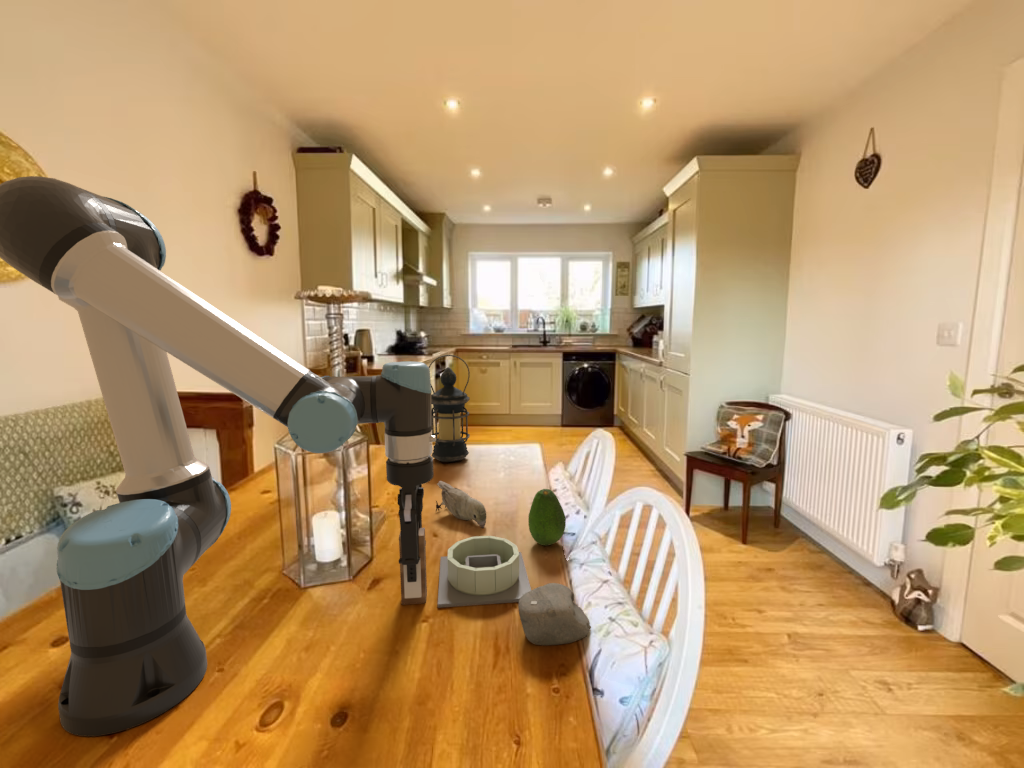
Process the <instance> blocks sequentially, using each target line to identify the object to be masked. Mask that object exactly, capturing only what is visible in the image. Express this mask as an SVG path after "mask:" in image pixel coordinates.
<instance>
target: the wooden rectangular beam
mask: <svg viewBox="0 0 1024 768" xmlns="http://www.w3.org/2000/svg"><path fill="white" fill-rule="evenodd" d="M425 540H426V528H425V527H422V528H419V557H420V561H421V593H422V595H421V597H420V598H405V594H404V566H403V565H402V563H400V564H399V573H400V574H399V576H400V599H401V603H400V604H401V605H405V606H406V605H417V604H418V605H419V604H420V605H421V604H426V603H427V594H428V589H427V588H428V587H427V586H428V585H427V584H428V583H427V556H426V555H427V554H426V553H427V552H426V546H425ZM398 544H399V545H398V547H399V548H398V549H399V558H402V551H401V531H400V530H399V535H398Z"/></svg>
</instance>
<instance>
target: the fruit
mask: <svg viewBox="0 0 1024 768" xmlns="http://www.w3.org/2000/svg"><path fill="white" fill-rule="evenodd" d="M530 505H531V506H530V508H529V512H528V530H529V533H530V535H531V538H532V539H534V541H535V543H537V544H539V545H541V546H551V545H554V544H556V543H558V542H559V541H560V540H561V539H562V537H563V535H564V533H565V531H566V525H567V523H566V515H565V512H564V509H563V507H562V504H561V503H560V500H559V498H558V496H557V494H556V493H555V492H554V491H552V489H549V488H543V489H540V490H537V492H536V493H535V495H534V497H533V500H532V502H531V504H530Z"/></svg>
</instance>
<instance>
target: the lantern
mask: <svg viewBox="0 0 1024 768" xmlns="http://www.w3.org/2000/svg"><path fill="white" fill-rule="evenodd" d="M445 357H453V358H454V357H455V358H457V359H459V360H460V361H462V362H463V364H465V366H466V369H467V372H468V373H467V374H468V376H467V382H466V383H465V386H464V389H463V390H461V389H459V388H457V387H454V385H456V383H457V373H455V372H454V371H453V370H452V368H451V367H450V366H449V367H446V368H445V369H444V371H442V373H441V374H440V382H441V384H442V386H443V387H441V388H440V389H438V390H436V391H435V390H434V388H433V386H432V384H431V392H432V393H431V396H432V434H431V436H435V437H436V441H435V443H434V445H433V449H432V454H431V455H430V456H431V457H432V458H433V459H435V460H437V461H439V462H443V463H445V462H446V463H448V462H449V463H455V462H458V461H462V460H465V459H466V457H467V456H468V455H469V453H470V452H469V450H468V447H467V442H468V439H469V438H470V437H471V435H470V434H469V432H468V431H469V430H468V429H469V428H468V421H469V420H468V417H469V416H470V412H469V411H468V410H467V408H466V407H465V405H466V404H467V403H468V402H469V401H470V397H469V396H468V394H467V393H466V389H467V386H468V385H469V381H470V377H471V373H470V368H469V365H468V364H467V363H466V361H465V360H464V359H463V358H461V357H460V356H457V355H454V354H445V355H440V356H437V357H436V358H435V359H433V360H432V361H431V362H430V364H429V366H428V367H429V369H430V368H431V367H432V364H433V363H434V362H435V361H438V359H441V358H445ZM464 418H465V431H464ZM434 420H435V423H434ZM434 424H435V425H434ZM434 426H435V427H434ZM434 429H435V432H434ZM464 435H465V437H464Z"/></svg>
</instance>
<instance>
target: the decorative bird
mask: <svg viewBox="0 0 1024 768" xmlns="http://www.w3.org/2000/svg"><path fill="white" fill-rule="evenodd" d="M436 485H437V486H438V487H439V488H440V489H441V500H442V501H441V503H440V504H439V503H438V500H435V503H436V505H435V508H436V509H435V512H437V511H440V509H441V510H442V509H443V508H442V507H441V506H442V505H443V506H444V509H447V511H449V513H450V514H451V515H453V516H454V517H455V518H456V519H459V520H463V521H464V520H465V521H472V520H473V522H475V523H476V524H477V525H478V526H479V527H480V528H482V529H484V528H485V526H486V523H487V511H486V507H485V505H484V504H483V502H482V501H480V500H478V499H477V498H473V497H471V496H470V495H469V494H468V493H467V492H466V491H464V490H462V489H459V488H457V487H453V486H452V485H451V484H449V483H447V482H445V481H442V480H439V481H438V483H436Z"/></svg>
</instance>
